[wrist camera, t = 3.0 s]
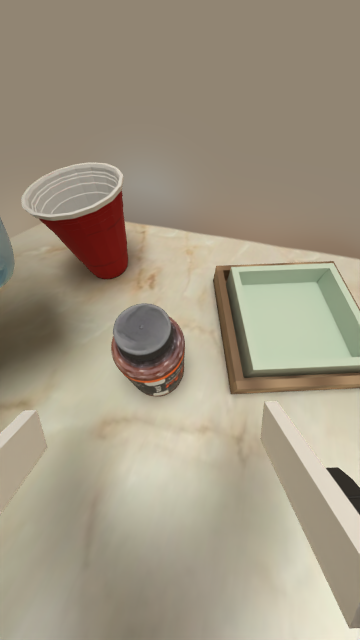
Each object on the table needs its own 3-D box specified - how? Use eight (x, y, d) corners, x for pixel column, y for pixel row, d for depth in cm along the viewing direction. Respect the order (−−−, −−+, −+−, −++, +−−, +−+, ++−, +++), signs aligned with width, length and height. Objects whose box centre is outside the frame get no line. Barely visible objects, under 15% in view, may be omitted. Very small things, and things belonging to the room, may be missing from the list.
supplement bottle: (177, 403, 22) (173, 382, 12) (125, 390, 22) (80, 360, 12) (188, 352, 24) (193, 300, 14) (142, 341, 25) (116, 285, 15)
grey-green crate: (243, 378, 22) (253, 369, 19) (225, 284, 28) (231, 267, 25) (359, 372, 22) (388, 363, 19) (316, 280, 28) (333, 262, 25)
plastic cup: (104, 233, 35) (70, 148, 24) (156, 254, 32) (143, 170, 22) (58, 274, 31) (-8, 194, 20) (113, 304, 28) (71, 228, 17)
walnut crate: (230, 393, 22) (237, 389, 19) (213, 280, 30) (216, 265, 27) (374, 387, 22) (399, 381, 20) (320, 276, 30) (333, 261, 27)
